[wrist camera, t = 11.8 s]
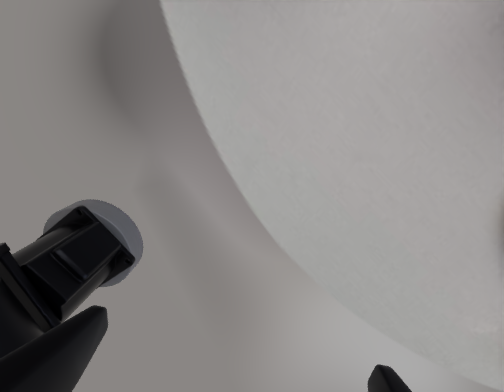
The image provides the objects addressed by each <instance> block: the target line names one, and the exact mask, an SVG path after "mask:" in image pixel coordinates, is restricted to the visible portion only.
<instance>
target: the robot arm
mask: <svg viewBox="0 0 504 392" xmlns="http://www.w3.org/2000/svg"><path fill="white" fill-rule="evenodd" d="M81 211H82V213H81ZM9 251H10V248H9V247H8V246H7V244H6V243H1V244H0V392H72V390H73V389H74V387H75V385H76V384H77V382H78V381H79V379H80V377H81V376H82V374H83V372H84V370H85V369H86V367H87V365H88V363H89V361H90V360H91V358H92V356H93V354H94V353H95V351H96V349H97V347H98V345H99V344H100V342H101V340H102V338H103V336H104V335H105V333H106V331H107V328H108V320H107V309H106V308H105V307H101V306H95V305H94V306H91V307H89V308H88V309H86V310H84V311H82V312H80V313H79V314H77V315H75V316H73V317H72V318H70V319H68V320H67V321H65V320H66V319H67V318H68V317H69V316H70V315H71V314H72V313H73V312H74V311H75V310H76V309H77V308H78V307H79V305H80V304H81V303H83V302H84V301H85V299H86V298H87V297H88V296H89V295H90V294H91V293H92V292H93V291H94V290H95V289H97V288H98V287H100V286H101V285H103V284H104V283H106V282H107V281H109V280H111V279H112V278H114V277H115V276H117V275H118V274H120V273H121V272H123V271H124V270H126V269H127V268H129V267H130V266H132V265H133V264H134V263H135V261H136V259H135V257H134V256H133V255H132V254H131V253H130V252H129V251H128V250H127V249H126V248H125V246H124V245H123V244H122V243H121V242H120V241H119V240H118V239H117V238H116V237H115V236H114V235H113V234H112V233H111V232H110V231H109V230H108V229H107V228H106V227H105V226H104V225H103V224H102V223H101V222H100V221H99V220H98V219H97V218H96V217H95V216H94V215H93V213H92V212H91V211H90V210H89V209H88V208H87V207H85V206H83V205H80V206H78V207H76V208H74V209H73V210H72V211H71V212H69V213H68V214H67V215H66V216H65V217H63V218H62V219H61V220H60V221H59V222H57V223H56V224H55V225H54V226H53V227H51V228H50V229H49V230H48V231H47V232H45V233H44V234H43V235H42V236H41V237H40V238H38V239H37V240H36V241H35V242H33V243H31V244H30V245H28V246H26V247H24V248H23V249H21V250H19V251H17V252H16V253H14V254H11V253H10V252H9ZM129 260H130V261H129ZM64 321H65V322H64ZM368 392H412V391H411V390H410V389H409V388H408V386H407V385H406V384H405V383H404V382H403V381H402V379H401V378H400V377H399V376H398V375H397V373H396V372H395V371H394V370H393V369H392V368H391V367H389V366H384V365H376V366H375V368H374V370H373V372H372V374H371V376H370V378H369V380H368Z"/></svg>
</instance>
